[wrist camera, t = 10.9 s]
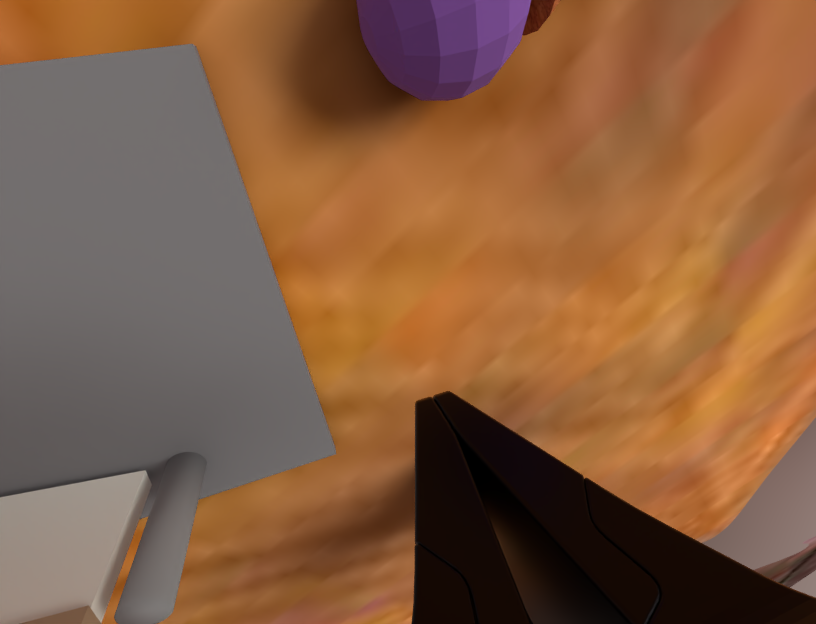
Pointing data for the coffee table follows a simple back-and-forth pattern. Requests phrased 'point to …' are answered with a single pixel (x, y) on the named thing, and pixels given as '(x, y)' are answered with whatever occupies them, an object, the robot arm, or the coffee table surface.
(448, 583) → the robot arm
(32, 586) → the gate
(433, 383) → the coffee table surface
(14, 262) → the flat gray base plate
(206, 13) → the coffee table surface
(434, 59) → the kendama
